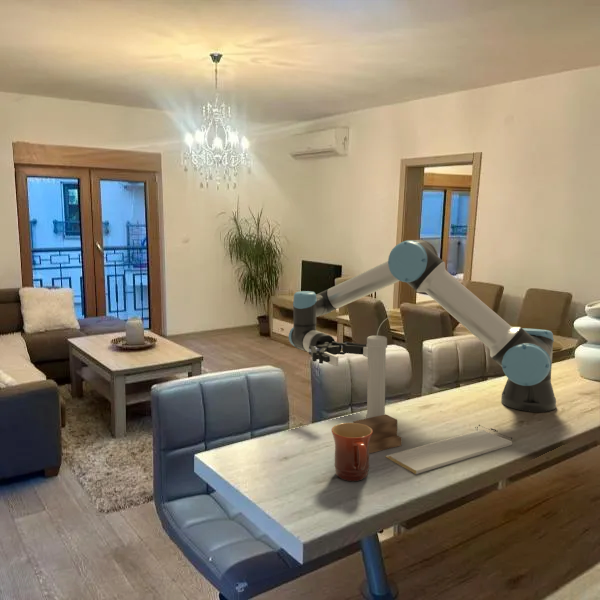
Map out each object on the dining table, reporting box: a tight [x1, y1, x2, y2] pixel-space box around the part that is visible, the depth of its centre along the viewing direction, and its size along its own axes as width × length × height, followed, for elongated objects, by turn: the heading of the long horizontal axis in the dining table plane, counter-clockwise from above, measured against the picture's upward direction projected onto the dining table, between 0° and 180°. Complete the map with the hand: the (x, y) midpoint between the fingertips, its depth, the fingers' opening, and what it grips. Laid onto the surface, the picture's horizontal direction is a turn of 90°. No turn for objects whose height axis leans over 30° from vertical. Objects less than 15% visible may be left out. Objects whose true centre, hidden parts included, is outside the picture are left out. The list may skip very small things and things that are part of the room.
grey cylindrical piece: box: [365, 316, 391, 419], centre depth 144 cm, size 6×6×30 cm
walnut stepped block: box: [352, 413, 402, 454], centre depth 133 cm, size 10×8×6 cm
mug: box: [331, 422, 373, 482], centre depth 115 cm, size 12×9×10 cm
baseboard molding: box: [384, 424, 513, 475], centre depth 130 cm, size 31×3×12 cm
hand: (357, 358), depth 152 cm, fingers open, 13 cm apart
